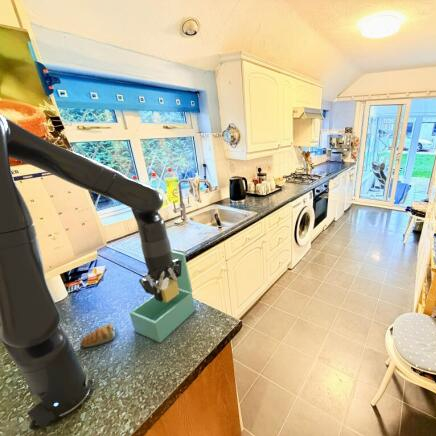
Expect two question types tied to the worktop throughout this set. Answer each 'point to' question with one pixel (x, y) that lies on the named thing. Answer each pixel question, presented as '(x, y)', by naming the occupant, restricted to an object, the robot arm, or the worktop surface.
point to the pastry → (99, 336)
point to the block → (169, 289)
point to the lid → (182, 271)
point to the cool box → (162, 315)
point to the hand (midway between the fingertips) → (167, 294)
